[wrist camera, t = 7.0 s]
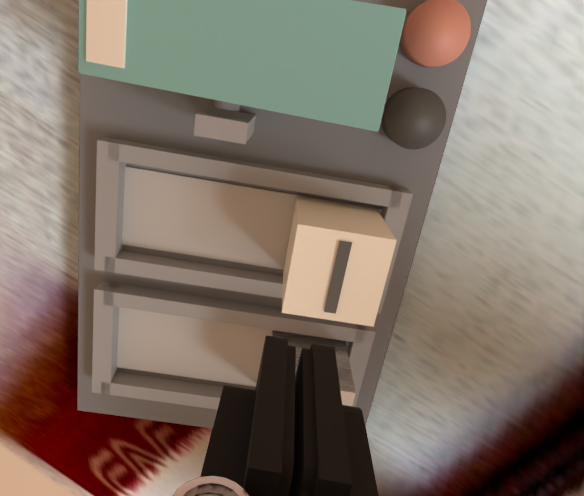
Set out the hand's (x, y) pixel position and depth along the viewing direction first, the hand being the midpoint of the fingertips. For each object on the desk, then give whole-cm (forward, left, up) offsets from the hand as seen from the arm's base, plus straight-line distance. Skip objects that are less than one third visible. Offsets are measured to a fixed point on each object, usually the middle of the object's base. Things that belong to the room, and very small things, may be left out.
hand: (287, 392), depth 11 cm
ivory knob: (-2, 0, -13) cm, 13 cm away
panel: (+2, +1, -14) cm, 14 cm away
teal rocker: (+3, -8, -10) cm, 13 cm away
